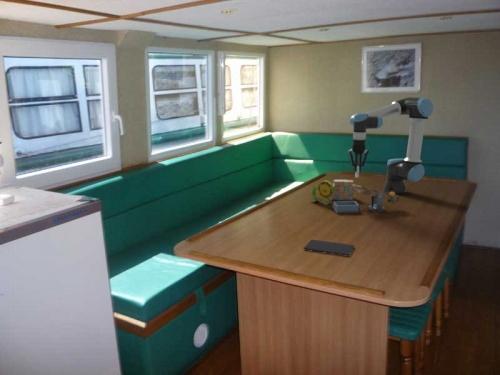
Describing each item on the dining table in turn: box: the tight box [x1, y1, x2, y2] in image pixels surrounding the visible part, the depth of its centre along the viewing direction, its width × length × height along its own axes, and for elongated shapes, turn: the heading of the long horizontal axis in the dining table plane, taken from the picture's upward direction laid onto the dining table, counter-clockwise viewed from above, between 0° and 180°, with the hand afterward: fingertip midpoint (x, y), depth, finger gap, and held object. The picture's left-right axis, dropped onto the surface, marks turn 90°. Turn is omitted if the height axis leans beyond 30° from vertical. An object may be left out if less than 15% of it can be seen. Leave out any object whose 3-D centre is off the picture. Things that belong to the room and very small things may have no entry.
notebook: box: [303, 239, 355, 257], centre depth 213 cm, size 13×2×21 cm
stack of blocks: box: [330, 179, 355, 201], centre depth 301 cm, size 21×6×12 cm, turn 85°
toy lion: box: [310, 179, 334, 206], centre depth 289 cm, size 16×5×15 cm, turn 47°
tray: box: [332, 200, 361, 214], centre depth 273 cm, size 14×10×4 cm
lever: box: [352, 183, 400, 205], centre depth 278 cm, size 24×17×5 cm
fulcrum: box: [367, 193, 387, 213], centre depth 274 cm, size 8×11×11 cm
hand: (356, 177), depth 281 cm, fingers closed
